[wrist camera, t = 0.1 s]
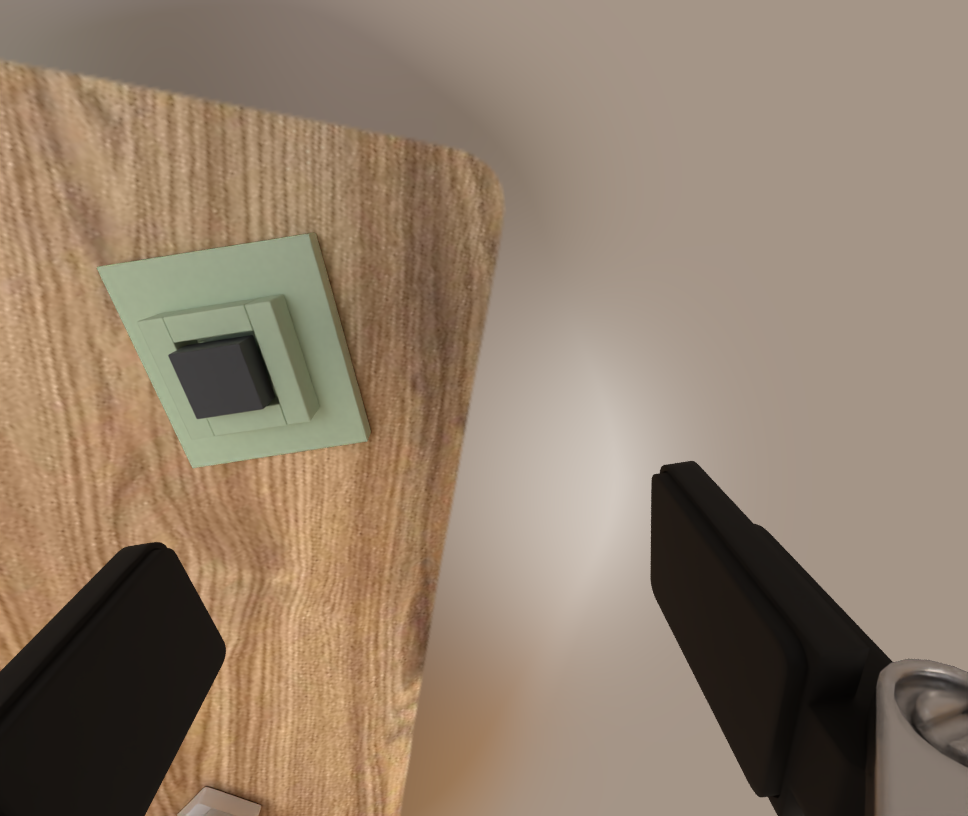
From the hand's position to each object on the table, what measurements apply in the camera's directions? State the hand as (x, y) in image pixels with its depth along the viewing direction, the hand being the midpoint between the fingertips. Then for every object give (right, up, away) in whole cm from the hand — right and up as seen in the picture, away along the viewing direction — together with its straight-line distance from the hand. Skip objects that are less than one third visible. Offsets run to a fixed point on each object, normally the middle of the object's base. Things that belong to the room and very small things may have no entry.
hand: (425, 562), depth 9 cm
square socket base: (-11, +6, +15) cm, 20 cm away
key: (-11, +5, +13) cm, 18 cm away
